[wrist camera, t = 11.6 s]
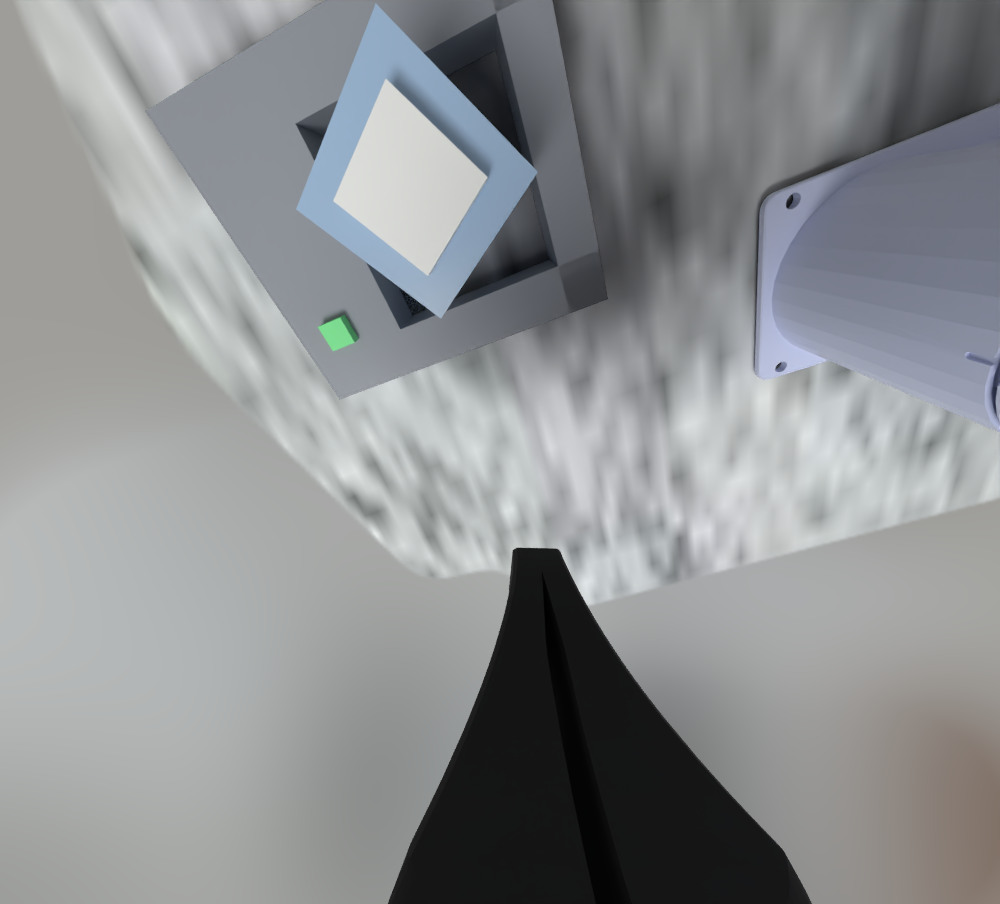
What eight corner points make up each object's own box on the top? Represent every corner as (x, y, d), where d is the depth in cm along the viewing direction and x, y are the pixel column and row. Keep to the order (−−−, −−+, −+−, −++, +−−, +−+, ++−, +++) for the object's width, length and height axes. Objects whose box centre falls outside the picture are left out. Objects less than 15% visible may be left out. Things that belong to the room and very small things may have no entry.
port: (522, -56, 11) (530, -143, 8) (592, 288, 16) (611, 301, 13) (203, 129, 13) (131, 106, 10) (357, 378, 18) (335, 404, 15)
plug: (431, 104, 12) (365, -15, 6) (519, 192, 14) (540, 168, 7) (378, 213, 14) (283, 208, 8) (460, 281, 16) (438, 324, 9)
